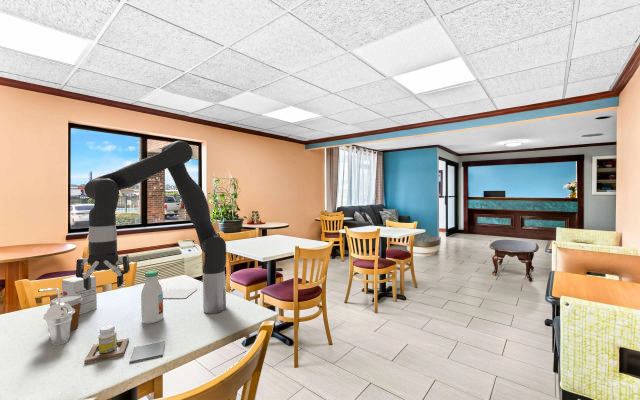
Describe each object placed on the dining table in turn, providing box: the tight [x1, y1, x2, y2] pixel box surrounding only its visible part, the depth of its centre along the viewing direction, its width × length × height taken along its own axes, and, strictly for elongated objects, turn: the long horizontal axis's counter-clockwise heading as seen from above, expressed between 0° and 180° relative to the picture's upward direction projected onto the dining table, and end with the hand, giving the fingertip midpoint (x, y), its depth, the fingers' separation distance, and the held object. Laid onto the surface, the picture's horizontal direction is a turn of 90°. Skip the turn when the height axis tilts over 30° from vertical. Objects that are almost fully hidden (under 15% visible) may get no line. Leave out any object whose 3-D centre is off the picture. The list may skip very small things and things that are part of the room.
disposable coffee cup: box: [49, 294, 82, 332], centre depth 111 cm, size 10×10×12 cm
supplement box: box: [61, 274, 98, 316], centre depth 128 cm, size 9×9×15 cm
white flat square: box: [162, 288, 198, 299], centre depth 145 cm, size 23×25×1 cm
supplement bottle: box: [98, 324, 118, 355], centre depth 95 cm, size 5×5×8 cm
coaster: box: [129, 341, 165, 364], centre depth 95 cm, size 9×9×1 cm
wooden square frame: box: [83, 337, 130, 365], centre depth 96 cm, size 10×10×1 cm
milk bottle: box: [140, 270, 164, 325], centre depth 119 cm, size 8×8×20 cm
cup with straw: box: [38, 287, 75, 346], centre depth 102 cm, size 8×9×20 cm
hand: (104, 287), depth 96 cm, fingers open, 8 cm apart
